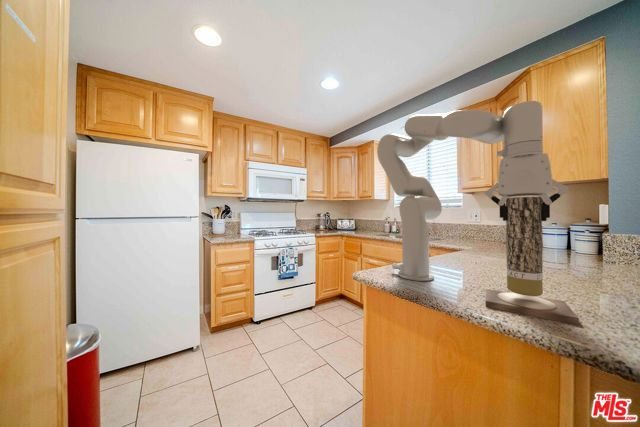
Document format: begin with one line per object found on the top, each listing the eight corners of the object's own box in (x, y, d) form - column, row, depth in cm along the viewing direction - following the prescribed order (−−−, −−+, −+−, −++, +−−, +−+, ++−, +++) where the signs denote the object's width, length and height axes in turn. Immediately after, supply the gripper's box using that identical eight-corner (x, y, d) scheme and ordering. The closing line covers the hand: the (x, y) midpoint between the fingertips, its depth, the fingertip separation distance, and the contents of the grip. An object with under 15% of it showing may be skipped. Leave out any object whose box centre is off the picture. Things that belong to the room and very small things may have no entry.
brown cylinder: (527, 288, 60) (526, 197, 60) (550, 297, 53) (549, 194, 54) (500, 287, 61) (499, 197, 61) (520, 296, 54) (519, 194, 54)
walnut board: (485, 306, 57) (485, 299, 57) (486, 293, 66) (486, 287, 67) (579, 325, 47) (578, 316, 47) (564, 307, 57) (564, 300, 57)
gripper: (480, 154, 60) (481, 220, 60) (576, 141, 49) (578, 221, 49) (481, 160, 66) (482, 220, 66) (567, 149, 55) (568, 221, 55)
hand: (523, 220), depth 57 cm, fingers closed on brown cylinder, 6 cm apart
